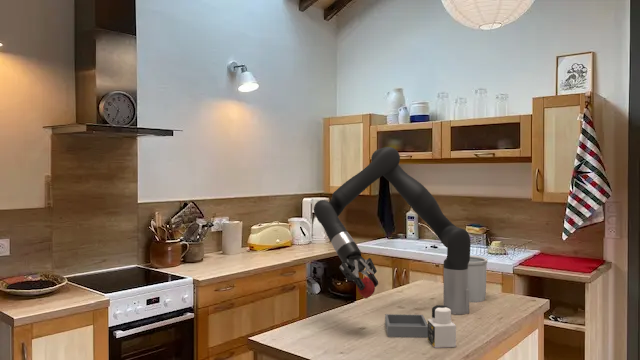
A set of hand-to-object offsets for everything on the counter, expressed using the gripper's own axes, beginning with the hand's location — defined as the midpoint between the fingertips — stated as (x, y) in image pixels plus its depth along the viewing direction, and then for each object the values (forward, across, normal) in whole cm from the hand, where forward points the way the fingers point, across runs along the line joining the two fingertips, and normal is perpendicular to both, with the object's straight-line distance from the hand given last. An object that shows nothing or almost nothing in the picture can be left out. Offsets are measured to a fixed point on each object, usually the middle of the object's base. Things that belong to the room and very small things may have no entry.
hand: (369, 287), depth 166 cm
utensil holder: (+8, +67, +16) cm, 69 cm away
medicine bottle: (+26, +12, -2) cm, 29 cm away
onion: (+2, 0, +4) cm, 5 cm away
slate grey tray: (+15, +14, +9) cm, 22 cm away
